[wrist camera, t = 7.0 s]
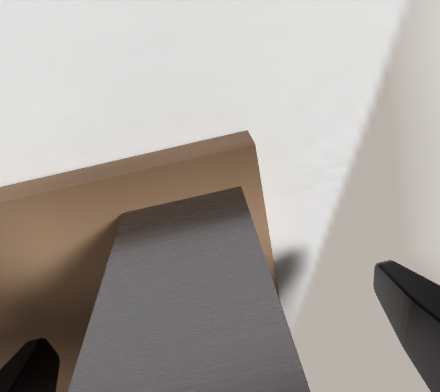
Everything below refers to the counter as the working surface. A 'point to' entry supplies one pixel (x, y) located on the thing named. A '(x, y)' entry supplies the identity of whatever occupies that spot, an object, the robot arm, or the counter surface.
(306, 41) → the counter surface
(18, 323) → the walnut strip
